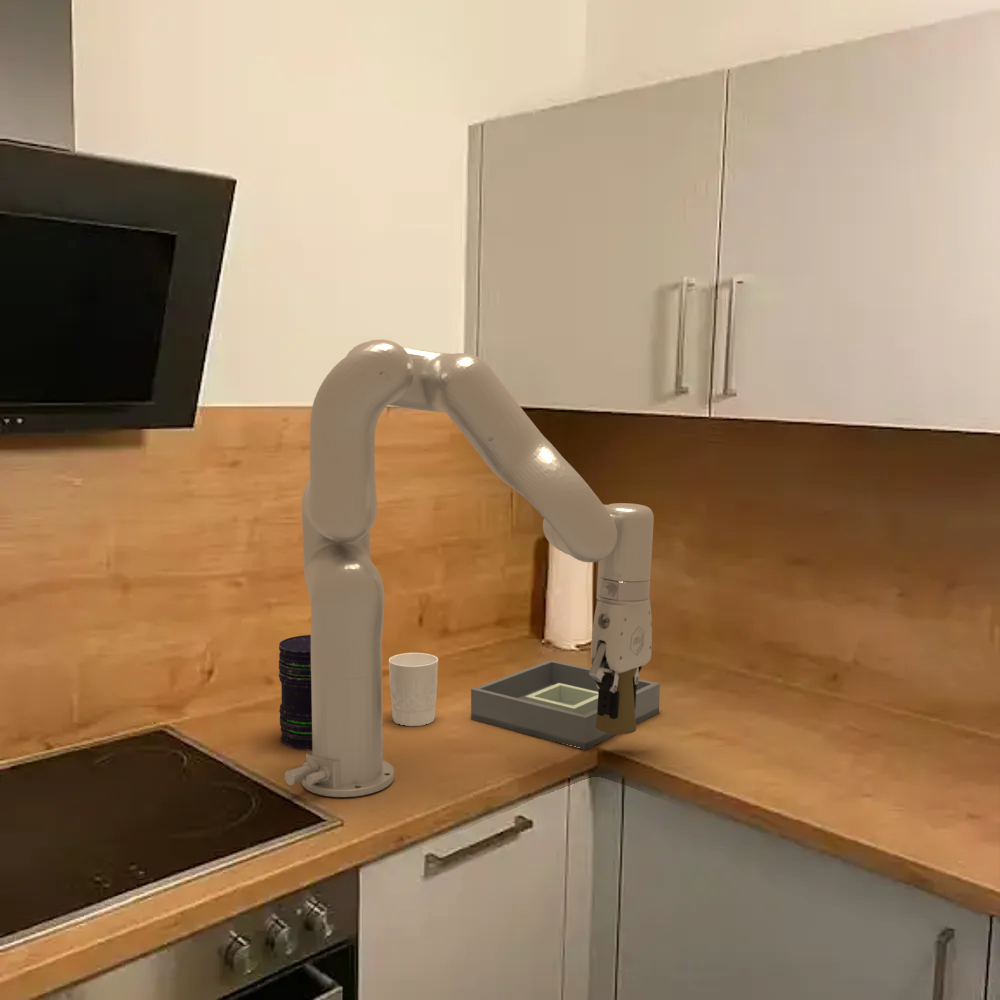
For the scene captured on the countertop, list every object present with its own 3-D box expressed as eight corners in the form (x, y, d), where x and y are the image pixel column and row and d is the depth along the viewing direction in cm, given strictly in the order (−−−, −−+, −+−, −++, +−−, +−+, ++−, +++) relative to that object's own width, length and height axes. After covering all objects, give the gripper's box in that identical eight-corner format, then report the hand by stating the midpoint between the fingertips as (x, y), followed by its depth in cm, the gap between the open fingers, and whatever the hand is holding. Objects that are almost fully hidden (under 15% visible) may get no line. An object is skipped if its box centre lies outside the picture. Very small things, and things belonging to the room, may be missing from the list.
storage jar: (286, 753, 152) (284, 654, 151) (274, 732, 162) (272, 637, 160) (353, 745, 156) (352, 647, 154) (337, 724, 165) (336, 632, 163)
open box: (585, 750, 155) (585, 717, 154) (471, 719, 168) (471, 689, 167) (659, 713, 172) (659, 683, 171) (550, 687, 185) (550, 659, 185)
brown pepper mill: (634, 736, 149) (639, 661, 148) (592, 731, 150) (596, 657, 149) (637, 723, 155) (642, 650, 153) (597, 718, 156) (601, 646, 155)
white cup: (444, 724, 166) (444, 663, 164) (396, 730, 163) (396, 668, 161) (429, 709, 173) (429, 650, 172) (383, 715, 170) (383, 655, 169)
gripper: (614, 602, 141) (607, 733, 143) (674, 586, 154) (667, 706, 156) (568, 593, 146) (562, 720, 148) (630, 578, 159) (624, 695, 161)
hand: (616, 711), depth 152 cm, fingers closed on brown pepper mill, 4 cm apart
